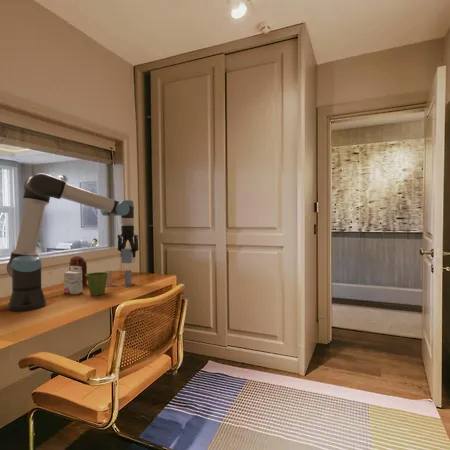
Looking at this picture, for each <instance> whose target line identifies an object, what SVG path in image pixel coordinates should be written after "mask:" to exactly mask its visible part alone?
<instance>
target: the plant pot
mask: <svg viewBox="0 0 450 450" xmlns="http://www.w3.org/2000/svg"><path fill="white" fill-rule="evenodd" d="M108 274H109V273H107V272H104V271H103V272H99V271H97V272H90V273H89V272H88V273H87V274H86V275H85V276H86V277H87V285H88V289H89V294H90V295H91V296H92V297H93V296H95V297H96V296H99V295H100V296H102V295H104V294H105V293H106V287H107V286H106V279H107V275H108Z"/></svg>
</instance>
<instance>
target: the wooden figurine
mask: <svg viewBox="0 0 450 450" xmlns="http://www.w3.org/2000/svg"><path fill="white" fill-rule="evenodd" d="M70 266H80V267H82V287H83V286H86V285H88V280H87V277H86V276H85V275H86V274H88V272H87V271H88V269H87V268H88V267H87V262H86V261H85V259H84V258H83V257H82V256H80V255H79V256H78V255H75V256H72V257H71V258H70V260H69V268H68V269H69V270H68V271H70ZM74 269H78V268H74Z"/></svg>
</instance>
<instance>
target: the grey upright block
mask: <svg viewBox="0 0 450 450" xmlns="http://www.w3.org/2000/svg"><path fill="white" fill-rule="evenodd" d="M131 252H132V249H131V247H129V248H128V247H127V248H126V247H125V249H121V251H120V257H121V264H132V263H131Z"/></svg>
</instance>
